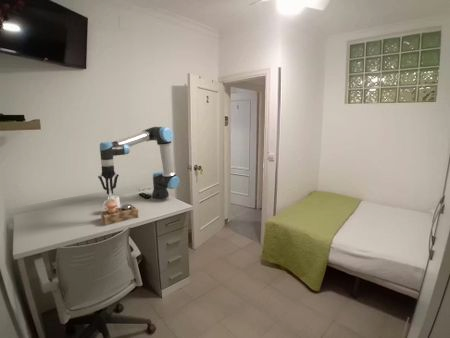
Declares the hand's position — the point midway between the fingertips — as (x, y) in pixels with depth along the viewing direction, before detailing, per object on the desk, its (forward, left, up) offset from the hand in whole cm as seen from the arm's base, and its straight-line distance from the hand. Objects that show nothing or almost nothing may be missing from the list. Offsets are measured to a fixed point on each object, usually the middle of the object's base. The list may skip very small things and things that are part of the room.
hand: (110, 198), depth 160 cm
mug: (-3, -15, -17) cm, 22 cm away
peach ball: (0, 0, -12) cm, 12 cm away
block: (-5, 0, -16) cm, 17 cm away
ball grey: (-10, 0, -16) cm, 19 cm away
